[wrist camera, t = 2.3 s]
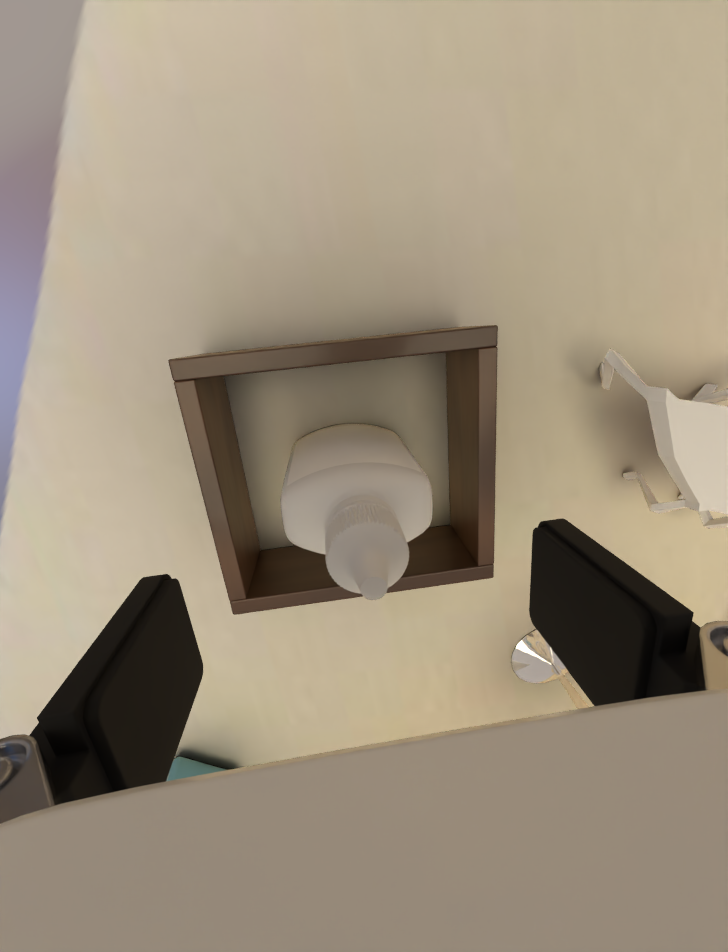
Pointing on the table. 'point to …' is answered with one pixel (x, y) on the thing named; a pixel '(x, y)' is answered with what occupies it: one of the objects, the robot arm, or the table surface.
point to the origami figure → (684, 443)
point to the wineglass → (542, 665)
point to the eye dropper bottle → (356, 504)
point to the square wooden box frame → (305, 572)
